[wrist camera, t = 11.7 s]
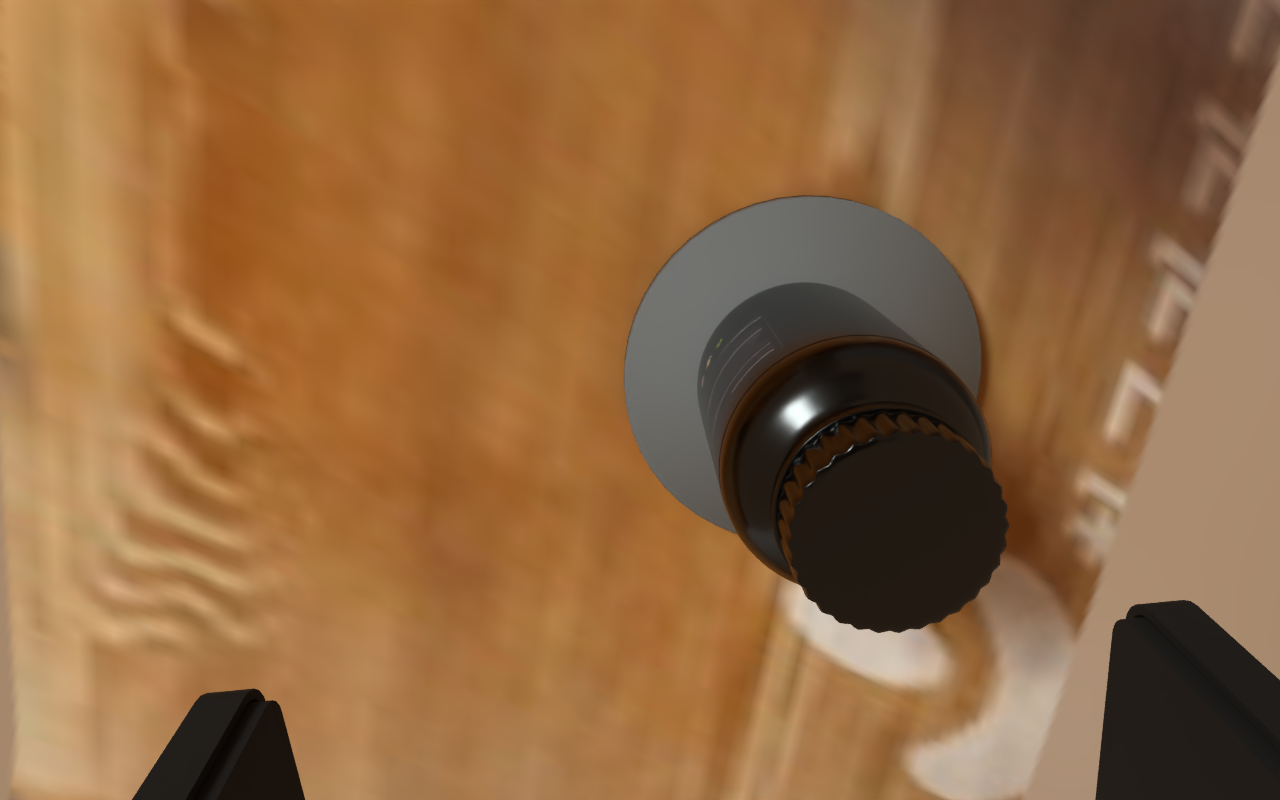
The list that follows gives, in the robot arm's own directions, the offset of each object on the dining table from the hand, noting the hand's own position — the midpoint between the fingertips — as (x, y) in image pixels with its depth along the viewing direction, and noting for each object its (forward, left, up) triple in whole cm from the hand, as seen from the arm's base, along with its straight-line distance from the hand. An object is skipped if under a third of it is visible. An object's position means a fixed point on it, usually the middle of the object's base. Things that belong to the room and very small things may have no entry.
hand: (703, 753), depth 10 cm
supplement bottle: (+2, +5, -21) cm, 22 cm away
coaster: (+2, +5, -22) cm, 22 cm away
